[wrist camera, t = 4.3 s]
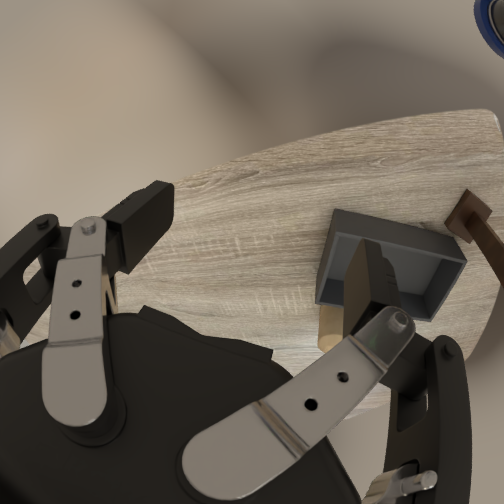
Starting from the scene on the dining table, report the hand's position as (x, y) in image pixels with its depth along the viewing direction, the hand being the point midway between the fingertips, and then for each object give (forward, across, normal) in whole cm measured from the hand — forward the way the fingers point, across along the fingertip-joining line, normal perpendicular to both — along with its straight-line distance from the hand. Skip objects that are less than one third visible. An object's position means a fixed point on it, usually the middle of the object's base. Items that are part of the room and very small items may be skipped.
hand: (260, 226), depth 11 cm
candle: (+29, -14, +31) cm, 44 cm away
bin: (+29, -18, +17) cm, 38 cm away
